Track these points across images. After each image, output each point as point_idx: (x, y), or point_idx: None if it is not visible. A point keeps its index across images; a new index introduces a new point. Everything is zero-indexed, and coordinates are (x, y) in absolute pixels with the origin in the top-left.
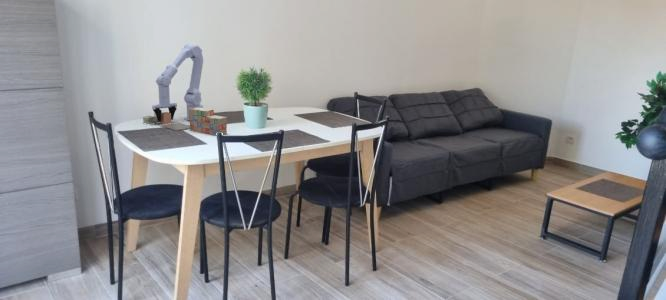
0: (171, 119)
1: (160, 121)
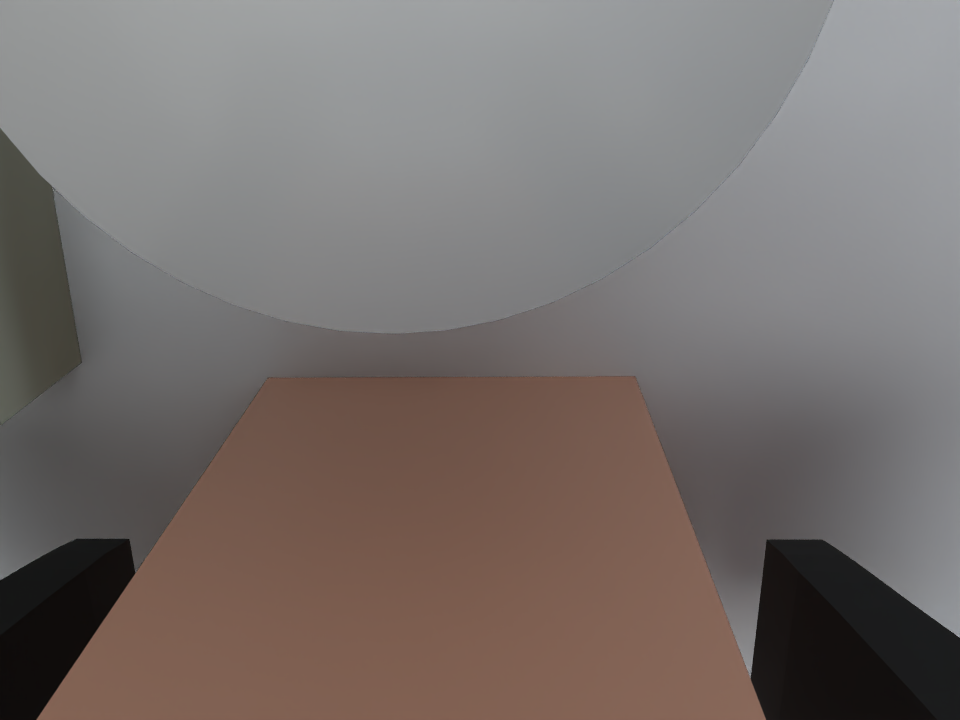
0: (756, 672)
1: None
